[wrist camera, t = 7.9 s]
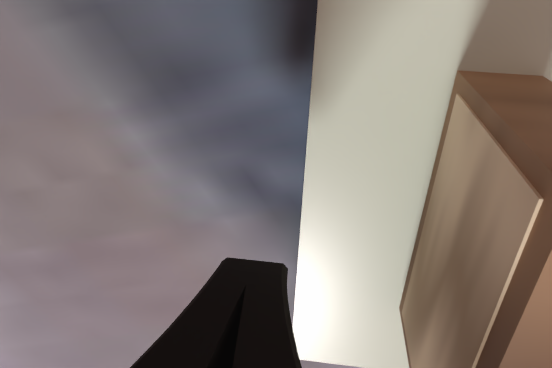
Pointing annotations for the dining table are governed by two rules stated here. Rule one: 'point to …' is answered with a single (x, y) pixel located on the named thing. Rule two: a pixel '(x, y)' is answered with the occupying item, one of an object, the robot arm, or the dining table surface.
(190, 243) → the dining table surface
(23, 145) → the dining table surface
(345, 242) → the mat
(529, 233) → the walnut slab
